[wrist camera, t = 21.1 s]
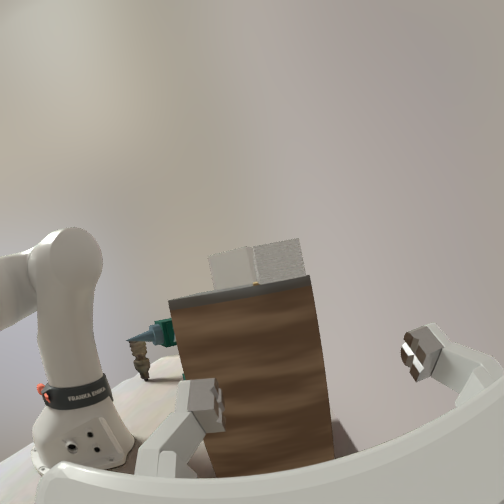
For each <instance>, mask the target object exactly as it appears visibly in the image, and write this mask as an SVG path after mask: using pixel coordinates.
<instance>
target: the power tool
mask: <svg viewBox="0 0 504 504" xmlns="http://www.w3.org/2000/svg"><path fill="white" fill-rule="evenodd" d="M127 341H148V342H153V344H154V345H162V346H165V347H171V346H174V345H177V342H176V337H175V333H174V328H173V323H172V318H169V319H164V320H159V321H155V325H150V326H149V331H147V332H144V333H142V334H140V335H138V336H135V337H133V338H131V339H128V340H127ZM182 375H183V379H184V380H186V379H185V375H184V374H182Z"/></svg>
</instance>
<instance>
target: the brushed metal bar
mask: <svg viewBox="0 0 504 504" xmlns="http://www.w3.org/2000/svg"><path fill="white" fill-rule="evenodd" d="M253 265H254V271H255V276H256V281H257V282H258V283H259V284H260V285H262V284H268V283H273V282H278V281H283V280H288V279H293V278H298V277H303V276H306V273H305V268H304V262H303V257H302V252H301V248H300V242H299V239H298V238H297V239H291V240H286V241H281V242H275V243H270V244H265V245H259V246H254V247H253Z"/></svg>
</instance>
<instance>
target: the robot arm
mask: <svg viewBox="0 0 504 504" xmlns="http://www.w3.org/2000/svg"><path fill="white" fill-rule="evenodd" d="M102 266H103V259H102V253H101V249H100V247H99V245H98V243H97V241H96V240H95V239H94V237H93V236H92V235H91V234H90V233H88V232H87V231H85V230H83V229H81V228H76V227H71V228H65V229H60V230H57V231H54V232H52V233H50V234H49V235H47V236H46V237H45V238H44V239H43V240H42V241H41V242H40V243H39V244H37V245H36V246H34V247H33V248H31V249H29V250H27V251H24V252H20V253H15V254H11V255H6V256H1V257H0V331H2V330H3V329H5V328H7V327H10V326H12V325H14V324H15V323H17V322H18V321H20V320H22V319H23V318H25V317H27V316H29V315H31V314H32V313H34V312H36V311H37V318H38V335H37V342H38V347H39V351H40V354H41V359H42V363H43V366H44V370H45V373H46V377H47V380H48V383H47V384H46V385H43V384H38V385H37V386H38V387H37V390H38V393H39V394H40V395H42V397H43V400H44V402H45V404H46V406H45V407H44V409H43V411H42V412H41V414H40V415H39V417H38V418H37V420H36V421H35V423H34V425H33V428H32V434H33V440H34V444H35V445H34V446H33V448H32V450H31V459H32V462H33V464H34V466H35V468H36V470H37V471H38V473H39V474H40V475H41V476H42V477H41V479H40V481H39V484H38V487H37V492H36V497H35V503H34V504H504V369H503V368H502V366H501V365H500V364H499V363H498V362H497V360H496V359H495V358H494V357H493V356H491V355H488V354H485V353H483V352H480V351H477V350H475V349H472V348H469V347H467V346H464V345H461V344H459V343H456V342H455V343H452V342H451V340H450V339H449V338H448V337H447V336H446V335H445V333H444V332H443V331H442V330H441V329H440V328H439V327H438V326H437V324H435V323H434V322H433V323H430V324H427V325H425V326H422V327H419V328H417V329H414V330H412V331H409V332H406V334H405V336H404V340H405V343H404V344H403V345H402V348H401V358H402V361H403V363H404V364H405V365H406V366H408V367H410V374H411V375H412V376H413V378H414V380H415V381H416V382H418V381H420V380H423V379H425V378H428V377H430V376H431V377H432V378H434V379H435V380H437V381H439V382H441V383H442V384H444V385H446V386H447V387H449V388H451V389H452V390H454V391H456V392H458V393H459V394H460V395H459V396H458V398H457V399H456V401H455V405H456V408H455V409H453V410H451V411H449V412H448V413H446V414H444V415H442V416H440V417H439V418H437V419H435V420H433V421H431V422H429V423H427V424H425V425H423V426H421V427H419V428H417V429H415V430H413V431H410V432H408V433H406V434H404V435H402V436H399V437H397V438H395V439H392V440H390V441H387V442H385V443H382V444H380V445H377V446H375V447H371V448H369V449H366V450H363V451H360V452H357V453H354V454H351V455H348V456H344V457H341V458H337V459H334V460H330V461H326V462H323V463H319V464H314V465H310V466H306V467H301V468H296V469H291V470H285V471H280V472H273V473H267V474H259V475H251V476H240V477H227V478H199V479H197V473H196V472H195V471H193V470H192V469H191V468H190V467H189V466H188V465H187V463H188V461H189V460H190V458H191V457H192V455H193V454H194V452H195V451H196V449H197V448H198V446H199V445H200V443H201V441H202V440H203V438H204V437H205V435H206V434H205V433H215V432H224V431H226V424H225V417H224V414H223V412H224V410H225V402H224V396H223V393H222V390H221V389H220V388H219V383H218V381H217V379H216V378H208V379H195V380H183V381H179V383H178V389H177V396H176V404H175V412H172V413H170V414H169V416H168V417H167V418H166V419H165V420H164V421H163V422H162V423H161V424H160V426H159V427H158V428H157V429H156V430H155V431H154V432H153V433H152V434H151V436H150V437H149V438H148V439H147V440H146V441H145V442H144V443H143V444H142V445H141V446H140V447H139V449H138V454H137V460H136V466H135V473H134V475H132V474H125V473H118V472H112V471H106V470H105V469H109V468H113V467H116V466H120V465H122V464H124V463H125V462H126V457H127V454H128V452H129V451H130V450H131V449H132V447H133V445H134V437H133V436H132V434H131V433H130V432H129V431H128V429H127V428H126V426H125V425H124V423H123V422H122V420H121V418H120V416H119V414H118V412H117V410H116V408H115V406H114V404H113V397H112V392H111V389H110V386H109V383H108V381H107V378H106V375H105V374H104V373H102V369H101V365H100V361H99V357H98V353H97V349H96V344H95V340H94V333H93V300H94V291H95V287H96V284H97V281H98V279H99V277H100V275H101V272H102Z"/></svg>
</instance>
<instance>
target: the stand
mask: <svg viewBox="0 0 504 504" xmlns="http://www.w3.org/2000/svg"><path fill="white" fill-rule="evenodd" d="M168 302H169V308H170V313H171V318H172V323H173V328H174V333H175V337H176V342H177V346H178V350H179V355H180V359H181V363H182V367H183V371H184V375H185V379H186V380H195V379H208V378H216V379H217V381H218V383H219V388H220V389H221V390H222V393H223V396H224V402H225V410H224V412H223V414H224V417H225V424H226V431H224V432H215V433H205V434H206V435H205V437H204V438H203V440H204V443H205V446H206V449H207V452H208V455H209V458H210V461H211V463H212V466H213V469H214V471H215V474H216V477H217V478H227V477H240V476H251V475H259V474H267V473H273V472H280V471H285V470H291V469H296V468H301V467H306V466H310V465H314V464H319V463H323V462H326V461H330V460H334V459H335V458H334V446H333V435H332V425H331V415H330V406H329V398H328V390H327V382H326V374H325V367H324V360H323V353H322V346H321V339H320V333H319V326H318V320H317V314H316V308H315V302H314V297H313V291H312V286H311V280H310V276H309V275H306V276H303V277H298V278H293V279H288V280H283V281H278V282H273V283H268V284H262V285H260V284H259V283H258V282H253V284H248V285H242V286H237V287H231V288H225V289H220V290H214V291H209V292H203V293H197V294H193V295H189V296H186V297H181V298H178V299H173V300H169V301H168Z"/></svg>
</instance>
